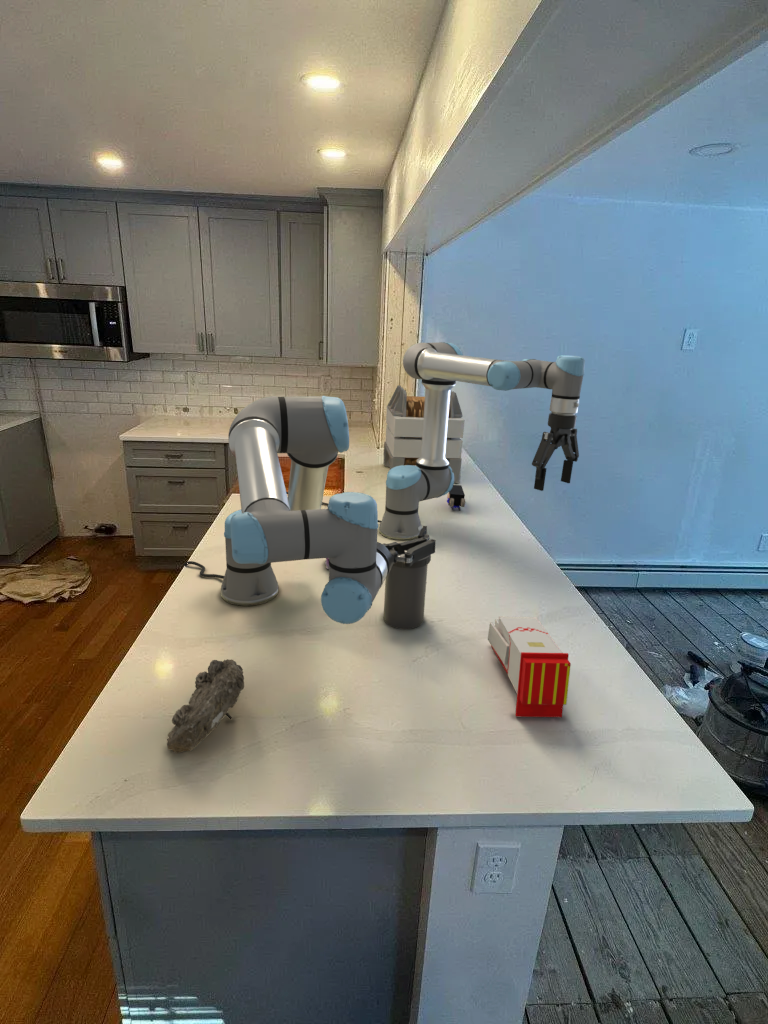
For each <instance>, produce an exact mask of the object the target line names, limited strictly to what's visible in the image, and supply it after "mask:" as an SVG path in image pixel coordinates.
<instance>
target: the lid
mask: <svg viewBox="0 0 768 1024" xmlns="http://www.w3.org/2000/svg"><path fill="white" fill-rule="evenodd" d="M393 549H394V548H393ZM431 558H432V554H431V555H429V556H427V557H425V558H423V559H420V560H418V561H416V562H414V563H413V564H412V565H411V566H410V567H406V566H405V563H404V562H399V561H397V563H395V564H393V566H396V567H400V568H420V567H423V566H426V565H427V564H428V565H429V564H430V562H431V560H432V559H431Z"/></svg>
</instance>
